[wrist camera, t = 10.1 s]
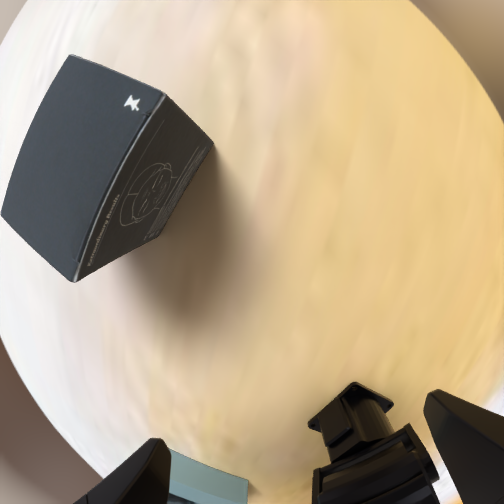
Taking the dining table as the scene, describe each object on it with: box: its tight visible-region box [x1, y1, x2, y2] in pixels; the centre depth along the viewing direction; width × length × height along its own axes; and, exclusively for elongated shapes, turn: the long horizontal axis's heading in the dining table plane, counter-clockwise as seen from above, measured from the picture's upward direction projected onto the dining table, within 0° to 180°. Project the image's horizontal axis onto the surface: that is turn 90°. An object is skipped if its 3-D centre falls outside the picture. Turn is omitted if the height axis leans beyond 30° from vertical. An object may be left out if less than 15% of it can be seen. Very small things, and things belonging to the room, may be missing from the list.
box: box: [0, 54, 214, 283], centre depth 13 cm, size 8×6×11 cm
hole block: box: [169, 449, 248, 504], centre depth 24 cm, size 12×12×4 cm
